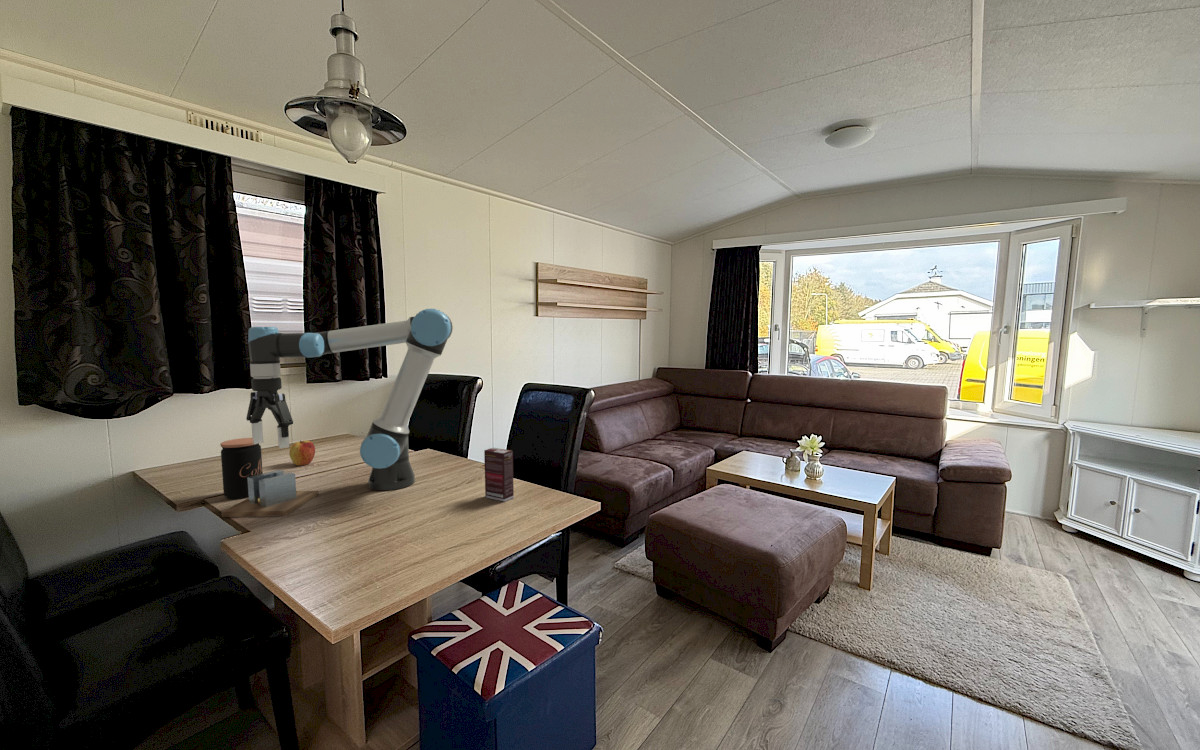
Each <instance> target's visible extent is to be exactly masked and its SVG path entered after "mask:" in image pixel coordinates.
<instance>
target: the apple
mask: <svg viewBox="0 0 1200 750" xmlns="http://www.w3.org/2000/svg"><path fill="white" fill-rule="evenodd" d="M288 454H289V458H290V459H291V461H292V463H293V464H294V465H295V466H298V467H300V466H305V465H309V464H311V463H312V461H313V459H314V458H315V454H316V448H315V445H314V443H313V442H312V441H310V440H299V441H298V442H294V443H293V444H292V445H291V446H290V449H289V453H288Z"/></svg>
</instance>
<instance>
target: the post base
mask: <svg viewBox="0 0 1200 750" xmlns="http://www.w3.org/2000/svg"><path fill="white" fill-rule="evenodd" d="M317 496H319V492H318V490H296V497H297V498H296V499H293V500H290V501H286V502H283V503H280V504H276V505H273V506H270V507H267V508H266V507H262V506H260V505H258V504H252V503H249V497H248V498H245V499H243V500H242V501H240V502H238V503H236V504H234V505H233V506H230V507H229V508H226V509H225V510H222V511H221V518H229V517H230V518H231V517H232V518H234V517H235V518H237V517H239V518H240V517H241V518H243V517H244V518H245V517H246V518H247V517H248V518H249V517H285V516H287V515H289V514H290V513H292V512H293V511H295V510H297V509H298V508H300V507H301V506H303V505H305V504H307V503H308V502H309V501H311V500H313V499H314V498H316V497H317Z"/></svg>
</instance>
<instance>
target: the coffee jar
mask: <svg viewBox="0 0 1200 750" xmlns="http://www.w3.org/2000/svg"><path fill="white" fill-rule="evenodd" d="M219 446H220V447H221V448H222V449H221V451H220V459H221V475H222V489H223V495H224V497H226V498H227V499H229V500H242V499H248V498H249V493H248V478H247V477H251V476H255V475H260V474H264V473H263V457H262V455H263V454H262V446H261V445H260V443H258V444H253V438H252V437H242V438H235V439H229V440H225V441H223V442H220V445H219Z"/></svg>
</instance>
